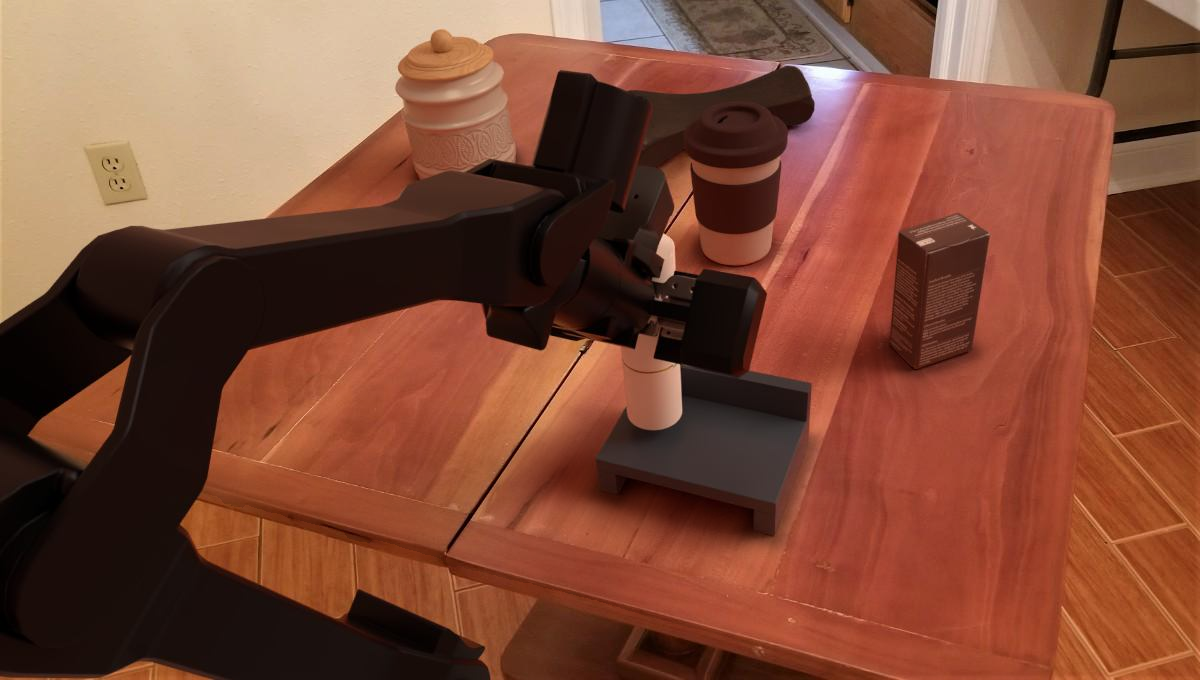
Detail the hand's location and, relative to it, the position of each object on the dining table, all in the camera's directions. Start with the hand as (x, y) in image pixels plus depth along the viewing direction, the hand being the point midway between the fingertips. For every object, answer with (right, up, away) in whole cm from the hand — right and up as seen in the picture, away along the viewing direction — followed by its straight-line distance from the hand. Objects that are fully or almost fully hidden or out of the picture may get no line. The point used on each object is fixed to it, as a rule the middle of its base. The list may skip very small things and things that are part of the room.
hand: (656, 323), depth 69 cm
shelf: (+4, -11, +5) cm, 13 cm away
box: (+25, -2, +14) cm, 29 cm away
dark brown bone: (+8, +23, +48) cm, 54 cm away
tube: (0, -7, +4) cm, 8 cm away
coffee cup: (+10, +8, +29) cm, 32 cm away
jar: (-21, +20, +50) cm, 58 cm away
